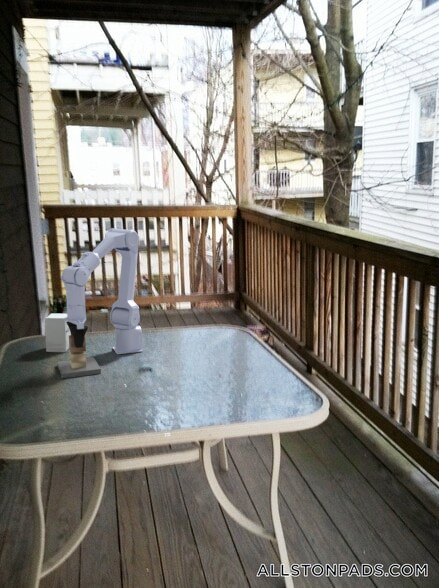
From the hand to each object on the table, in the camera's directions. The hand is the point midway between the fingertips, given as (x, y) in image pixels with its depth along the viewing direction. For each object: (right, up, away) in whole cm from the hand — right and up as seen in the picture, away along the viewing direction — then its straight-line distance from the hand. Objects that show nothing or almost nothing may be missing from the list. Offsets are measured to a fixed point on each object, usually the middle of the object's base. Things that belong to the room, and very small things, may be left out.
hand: (77, 344), depth 171 cm
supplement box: (-13, -4, +22) cm, 26 cm away
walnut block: (0, -2, 0) cm, 2 cm away
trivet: (0, -8, +2) cm, 8 cm away
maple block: (0, -7, +1) cm, 7 cm away
